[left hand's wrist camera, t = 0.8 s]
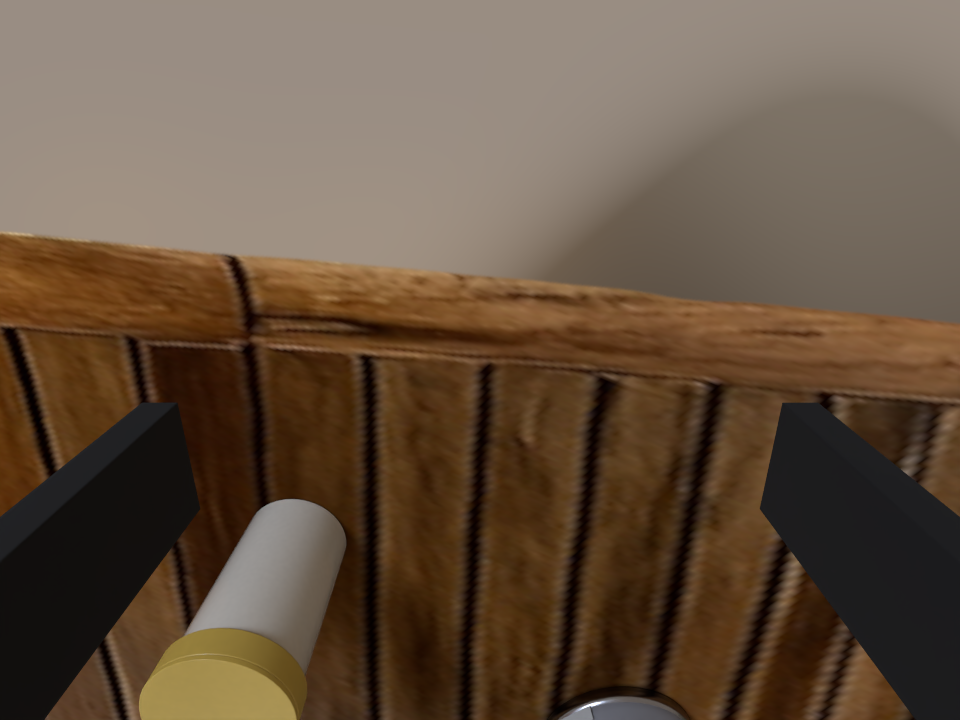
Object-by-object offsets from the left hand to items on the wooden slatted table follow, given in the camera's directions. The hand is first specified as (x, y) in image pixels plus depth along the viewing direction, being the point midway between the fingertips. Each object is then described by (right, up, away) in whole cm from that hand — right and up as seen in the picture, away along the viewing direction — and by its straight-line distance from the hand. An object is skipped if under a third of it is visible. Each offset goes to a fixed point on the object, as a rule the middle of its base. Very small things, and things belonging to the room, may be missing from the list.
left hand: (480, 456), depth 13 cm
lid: (-15, -18, +21) cm, 32 cm away
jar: (-15, -13, +35) cm, 40 cm away
